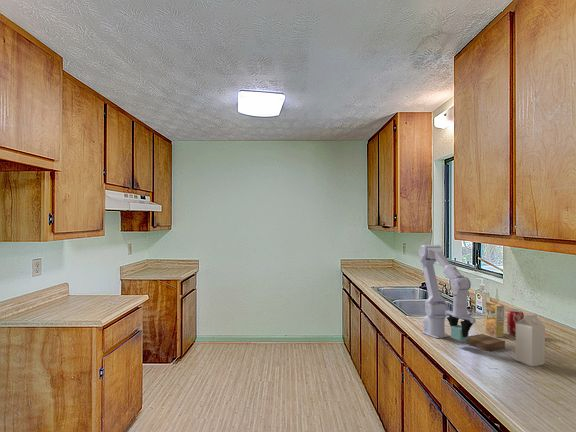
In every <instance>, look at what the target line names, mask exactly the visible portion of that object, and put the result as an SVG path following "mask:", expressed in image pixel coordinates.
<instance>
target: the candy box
mask: <svg viewBox="0 0 576 432" xmlns="http://www.w3.org/2000/svg"><path fill="white" fill-rule="evenodd" d="M484 323H485V324H484V332H486V333H487V334H489V335H492V337H494V338H504V327H505V325H504V324H505V305H503V304H500V303H497V302H494V301H485V321H484Z"/></svg>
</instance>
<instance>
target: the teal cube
mask: <svg viewBox="0 0 576 432" xmlns="http://www.w3.org/2000/svg"><path fill="white" fill-rule="evenodd" d="M468 336H469V335H468ZM468 336H467V337H463V335H462V325H461V324H458V325H456V326H450V338H452V339H454V340H457V341H460V342H461V341H462V342H463V341H466V340H468Z"/></svg>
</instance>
